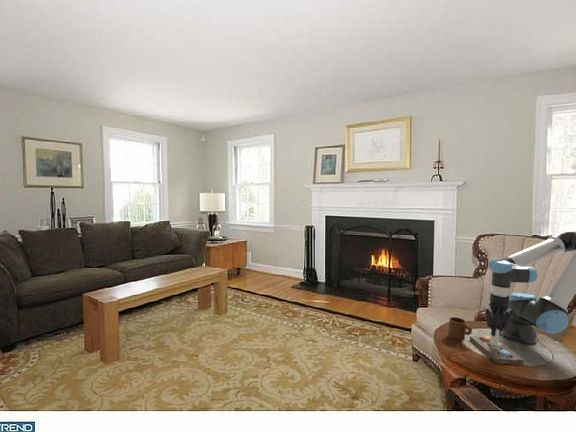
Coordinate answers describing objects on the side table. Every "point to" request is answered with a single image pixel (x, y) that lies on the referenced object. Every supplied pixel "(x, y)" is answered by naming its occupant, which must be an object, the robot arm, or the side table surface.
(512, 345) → the side table surface
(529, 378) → the side table surface
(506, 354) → the blue button
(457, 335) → the mug
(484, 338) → the terracotta button
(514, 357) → the button panel
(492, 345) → the sage button
